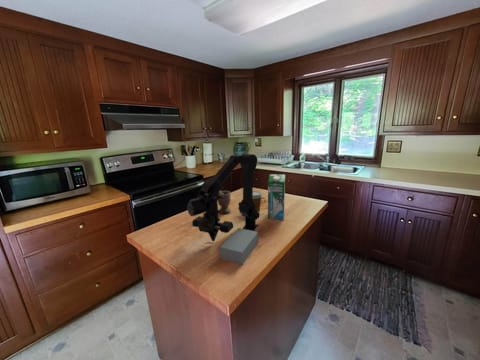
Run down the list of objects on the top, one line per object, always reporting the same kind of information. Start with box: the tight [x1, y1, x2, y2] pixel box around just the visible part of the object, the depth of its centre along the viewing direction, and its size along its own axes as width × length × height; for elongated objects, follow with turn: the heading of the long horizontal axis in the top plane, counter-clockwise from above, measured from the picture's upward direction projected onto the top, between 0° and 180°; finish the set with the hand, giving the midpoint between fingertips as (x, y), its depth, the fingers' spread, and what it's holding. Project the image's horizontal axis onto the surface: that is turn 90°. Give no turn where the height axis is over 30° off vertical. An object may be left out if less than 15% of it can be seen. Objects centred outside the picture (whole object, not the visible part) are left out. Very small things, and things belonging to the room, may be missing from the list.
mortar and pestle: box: [217, 190, 232, 215], centre depth 129 cm, size 12×9×20 cm
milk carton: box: [267, 173, 286, 221], centre depth 121 cm, size 9×9×25 cm
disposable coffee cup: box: [252, 190, 263, 213], centre depth 131 cm, size 10×10×12 cm
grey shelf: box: [219, 227, 259, 266], centre depth 90 cm, size 17×10×6 cm, turn 155°
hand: (213, 240), depth 96 cm, fingers closed
